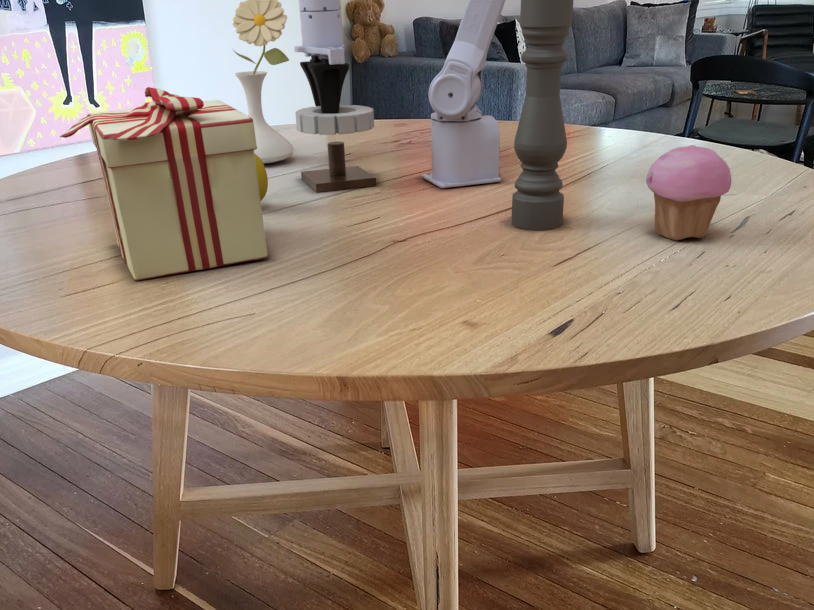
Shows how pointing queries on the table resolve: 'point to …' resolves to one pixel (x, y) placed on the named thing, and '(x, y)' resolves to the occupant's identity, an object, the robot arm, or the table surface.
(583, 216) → the table surface
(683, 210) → the cupcake
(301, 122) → the grey notched ring
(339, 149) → the brown peg stand
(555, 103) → the candle holder
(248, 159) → the gift box
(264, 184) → the lemon
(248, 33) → the flower in vase
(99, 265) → the table surface
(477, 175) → the robot arm
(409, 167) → the table surface
